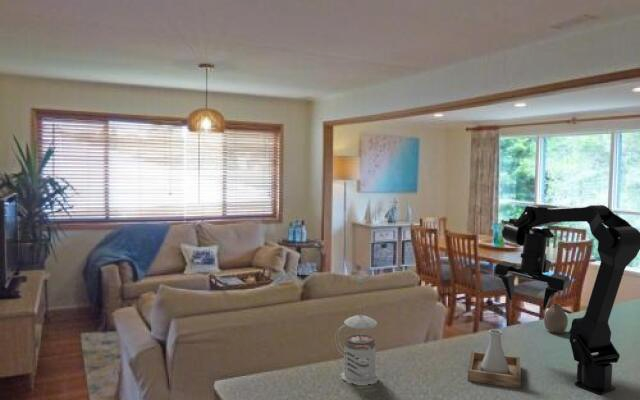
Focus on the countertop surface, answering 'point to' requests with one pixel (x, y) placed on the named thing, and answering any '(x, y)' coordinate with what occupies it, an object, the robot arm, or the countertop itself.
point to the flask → (495, 355)
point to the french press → (361, 369)
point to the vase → (555, 319)
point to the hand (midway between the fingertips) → (527, 304)
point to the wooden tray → (495, 378)
